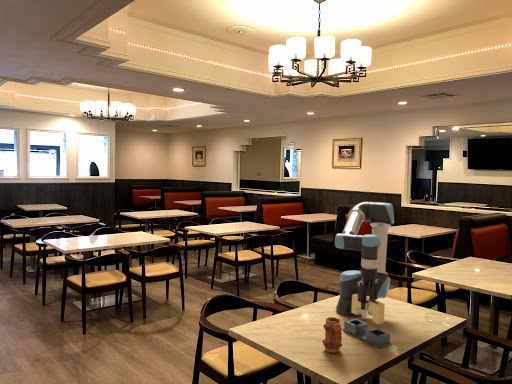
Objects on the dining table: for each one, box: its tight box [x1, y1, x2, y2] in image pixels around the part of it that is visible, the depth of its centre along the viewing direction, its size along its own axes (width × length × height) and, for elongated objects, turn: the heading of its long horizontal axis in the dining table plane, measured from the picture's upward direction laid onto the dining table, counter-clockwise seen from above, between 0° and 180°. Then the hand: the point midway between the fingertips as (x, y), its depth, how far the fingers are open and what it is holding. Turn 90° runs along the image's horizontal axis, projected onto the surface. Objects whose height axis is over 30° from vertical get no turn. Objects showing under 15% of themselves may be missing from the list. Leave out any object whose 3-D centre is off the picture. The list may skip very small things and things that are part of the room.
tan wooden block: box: [351, 294, 386, 325], centre depth 199 cm, size 18×4×9 cm, turn 31°
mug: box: [321, 316, 343, 353], centre depth 182 cm, size 15×8×15 cm, turn 5°
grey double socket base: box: [342, 318, 392, 350], centre depth 200 cm, size 24×8×5 cm, turn 31°
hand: (367, 315), depth 199 cm, fingers closed on tan wooden block, 3 cm apart
